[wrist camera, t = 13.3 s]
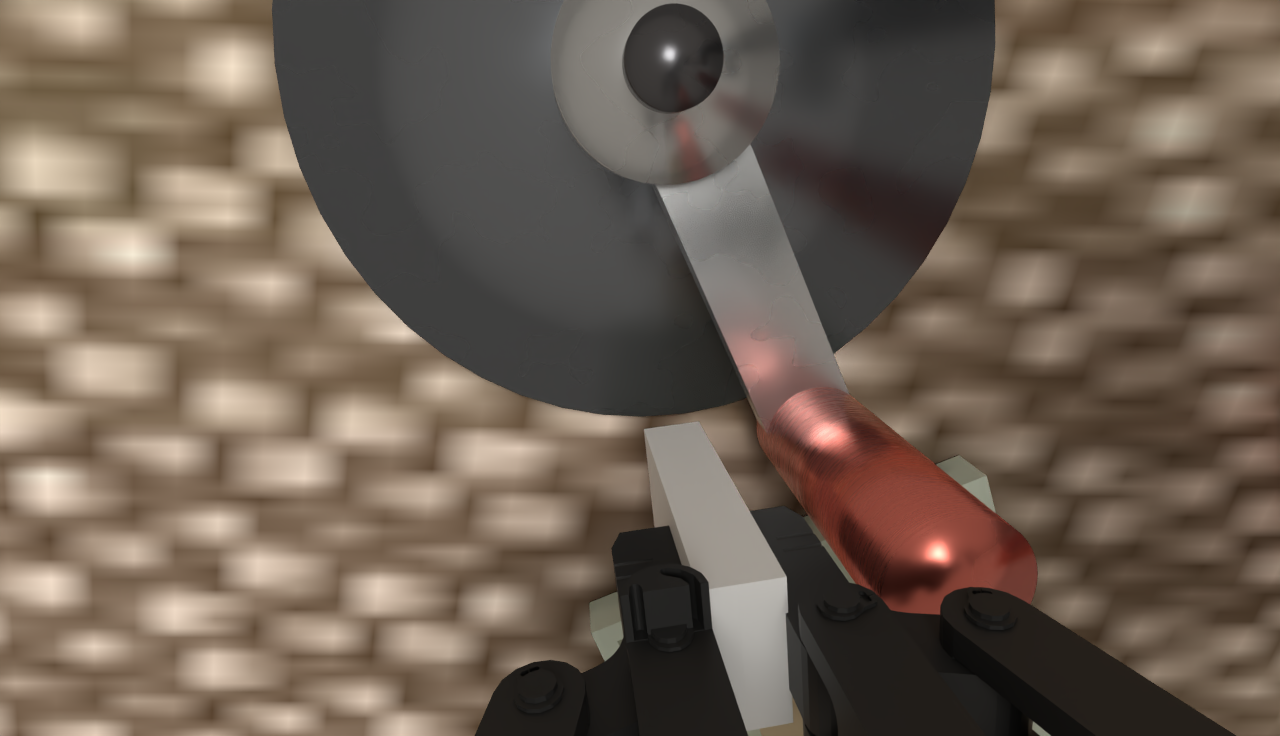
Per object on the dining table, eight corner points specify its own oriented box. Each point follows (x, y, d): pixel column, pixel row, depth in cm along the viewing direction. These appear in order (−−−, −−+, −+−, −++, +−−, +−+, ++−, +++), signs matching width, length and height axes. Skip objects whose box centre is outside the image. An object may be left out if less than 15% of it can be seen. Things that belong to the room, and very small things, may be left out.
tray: (959, 455, 22) (986, 475, 21) (1033, 742, 26) (1061, 777, 24) (589, 602, 22) (591, 633, 21) (717, 867, 26) (726, 909, 24)
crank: (515, 20, 16) (467, -119, 8) (705, -76, 16) (849, -314, 8) (738, 492, 21) (854, 709, 12) (892, 418, 20) (1112, 590, 12)
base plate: (888, -493, 15) (1002, -720, 11) (1040, 273, 21) (1152, 300, 17) (123, -179, 15) (-27, -296, 11) (476, 500, 21) (456, 579, 17)
